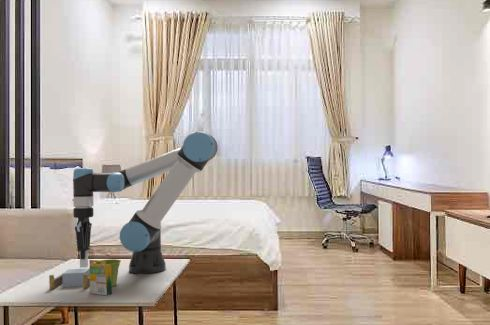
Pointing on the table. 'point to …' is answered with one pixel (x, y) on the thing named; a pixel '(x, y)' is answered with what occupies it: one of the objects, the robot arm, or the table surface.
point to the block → (74, 277)
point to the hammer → (58, 281)
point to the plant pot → (112, 269)
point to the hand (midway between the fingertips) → (83, 267)
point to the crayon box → (100, 278)
